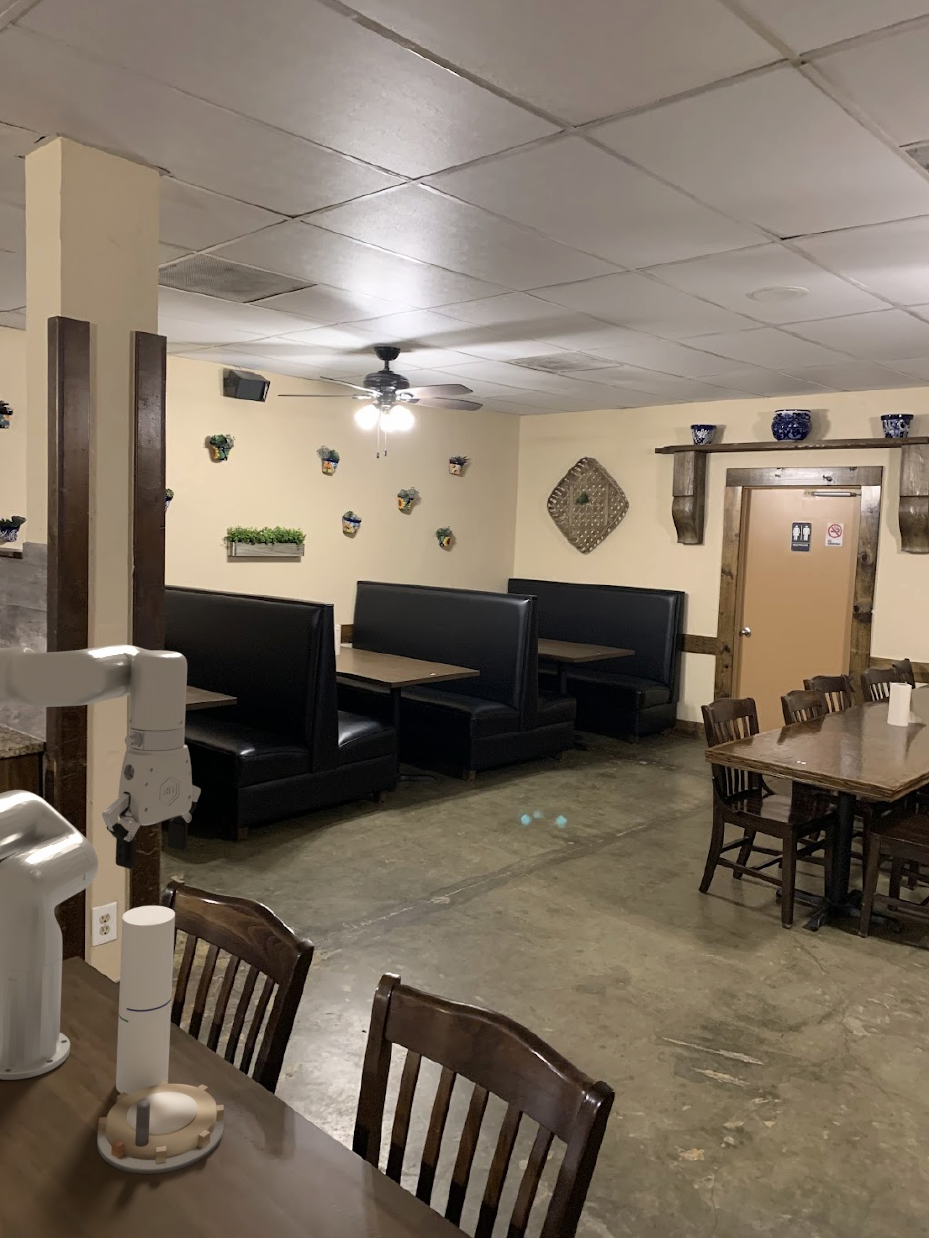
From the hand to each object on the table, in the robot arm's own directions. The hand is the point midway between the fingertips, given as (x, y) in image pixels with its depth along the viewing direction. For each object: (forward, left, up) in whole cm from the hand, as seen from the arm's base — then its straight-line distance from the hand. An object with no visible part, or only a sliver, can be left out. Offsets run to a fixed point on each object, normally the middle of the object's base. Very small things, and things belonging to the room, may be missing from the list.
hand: (152, 857), depth 134 cm
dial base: (+11, -7, -34) cm, 36 cm away
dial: (+11, -7, -32) cm, 35 cm away
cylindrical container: (0, 0, -34) cm, 34 cm away
